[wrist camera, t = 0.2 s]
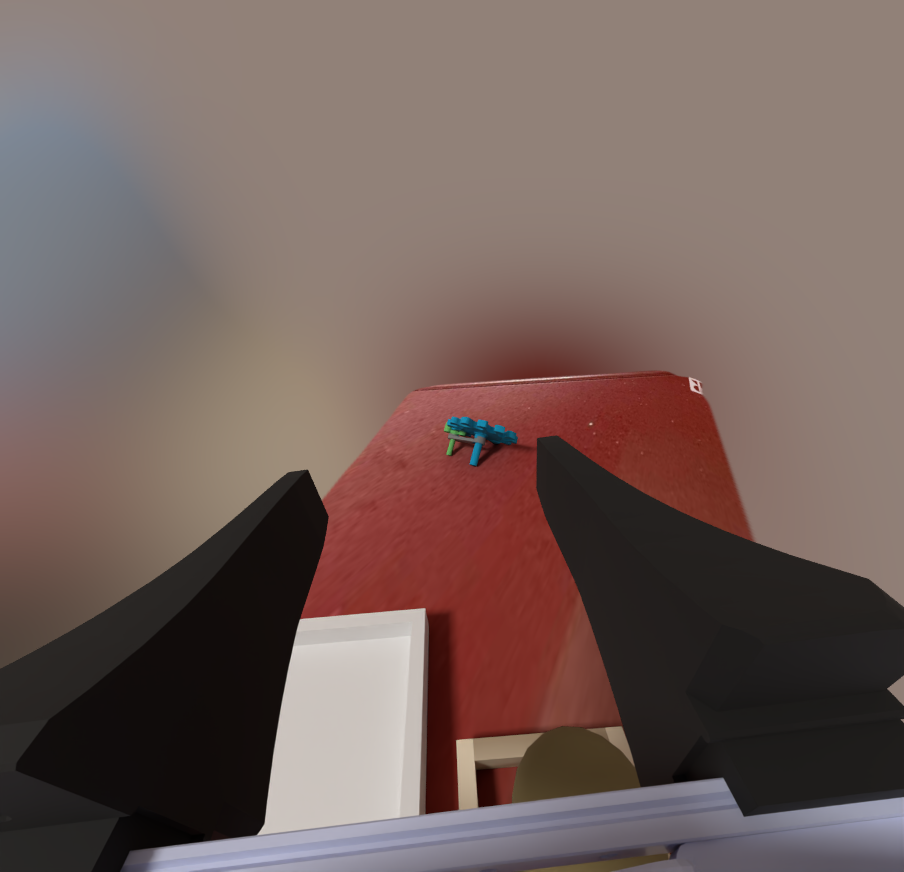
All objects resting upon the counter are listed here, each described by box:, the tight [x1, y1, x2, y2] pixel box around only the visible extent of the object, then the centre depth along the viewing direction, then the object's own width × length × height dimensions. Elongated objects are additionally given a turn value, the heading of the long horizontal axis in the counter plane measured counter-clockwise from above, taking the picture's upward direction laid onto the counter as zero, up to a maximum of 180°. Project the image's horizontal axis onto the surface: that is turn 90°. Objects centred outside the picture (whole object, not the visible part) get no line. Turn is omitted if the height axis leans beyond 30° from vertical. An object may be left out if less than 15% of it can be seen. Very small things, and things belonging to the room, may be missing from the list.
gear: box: [444, 417, 518, 466], centre depth 48 cm, size 11×6×10 cm
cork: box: [512, 726, 669, 872], centre depth 14 cm, size 6×6×11 cm
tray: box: [257, 608, 429, 835], centre depth 22 cm, size 14×14×2 cm
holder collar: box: [456, 726, 670, 859], centre depth 17 cm, size 10×10×2 cm
